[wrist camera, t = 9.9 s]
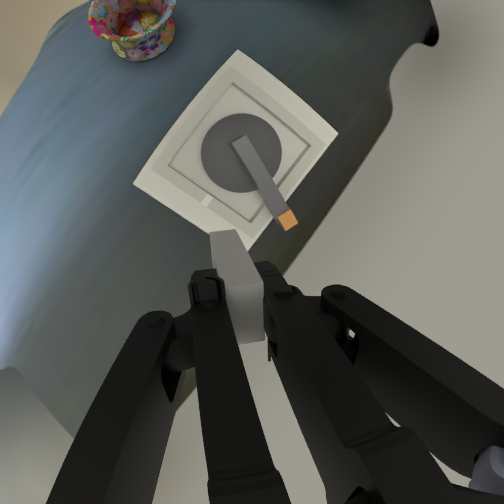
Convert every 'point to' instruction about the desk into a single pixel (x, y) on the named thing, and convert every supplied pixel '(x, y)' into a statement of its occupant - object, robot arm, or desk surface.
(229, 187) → the dial
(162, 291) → the desk surface
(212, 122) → the panel
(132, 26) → the mug
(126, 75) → the desk surface
